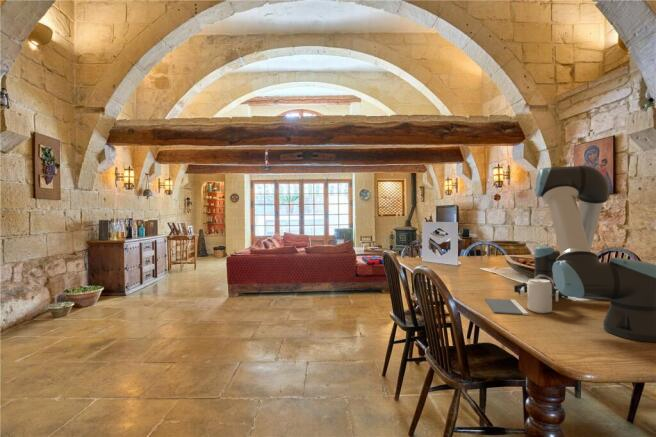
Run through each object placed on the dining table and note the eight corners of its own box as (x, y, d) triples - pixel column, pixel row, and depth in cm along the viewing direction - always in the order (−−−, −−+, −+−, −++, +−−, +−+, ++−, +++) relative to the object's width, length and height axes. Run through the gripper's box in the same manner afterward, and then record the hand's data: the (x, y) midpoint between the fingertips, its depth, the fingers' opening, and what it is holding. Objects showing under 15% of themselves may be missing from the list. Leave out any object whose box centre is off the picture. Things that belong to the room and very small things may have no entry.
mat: (528, 315, 125) (528, 313, 125) (493, 313, 128) (493, 311, 128) (514, 301, 144) (514, 299, 144) (484, 299, 147) (484, 298, 147)
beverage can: (531, 313, 127) (531, 282, 126) (524, 307, 135) (524, 278, 134) (555, 314, 125) (555, 282, 125) (547, 308, 133) (546, 278, 132)
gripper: (576, 297, 137) (576, 310, 119) (512, 290, 151) (504, 301, 133) (576, 279, 137) (576, 289, 119) (512, 273, 151) (504, 282, 133)
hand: (538, 295), depth 126 cm, fingers open, 11 cm apart
